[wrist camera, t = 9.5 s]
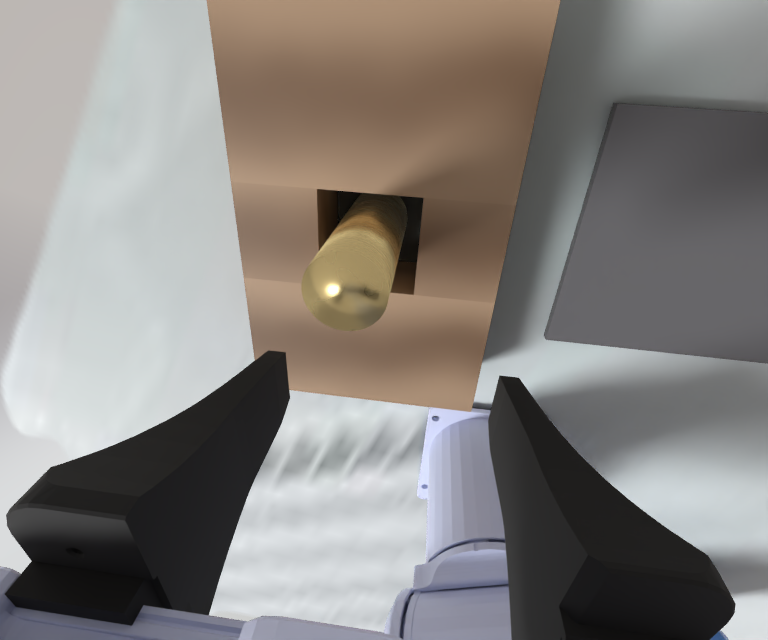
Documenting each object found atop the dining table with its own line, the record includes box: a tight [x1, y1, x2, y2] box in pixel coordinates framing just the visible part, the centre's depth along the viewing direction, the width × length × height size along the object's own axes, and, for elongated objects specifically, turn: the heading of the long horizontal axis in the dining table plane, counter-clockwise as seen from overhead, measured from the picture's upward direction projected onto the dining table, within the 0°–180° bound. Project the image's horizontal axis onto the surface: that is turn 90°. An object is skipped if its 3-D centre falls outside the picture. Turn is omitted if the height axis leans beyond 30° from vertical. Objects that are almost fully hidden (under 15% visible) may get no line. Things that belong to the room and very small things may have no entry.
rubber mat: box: [544, 103, 768, 363], centre depth 20 cm, size 12×12×1 cm
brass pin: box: [301, 193, 408, 331], centre depth 18 cm, size 3×3×9 cm
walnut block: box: [207, 0, 561, 412], centre depth 20 cm, size 18×12×4 cm, turn 177°
